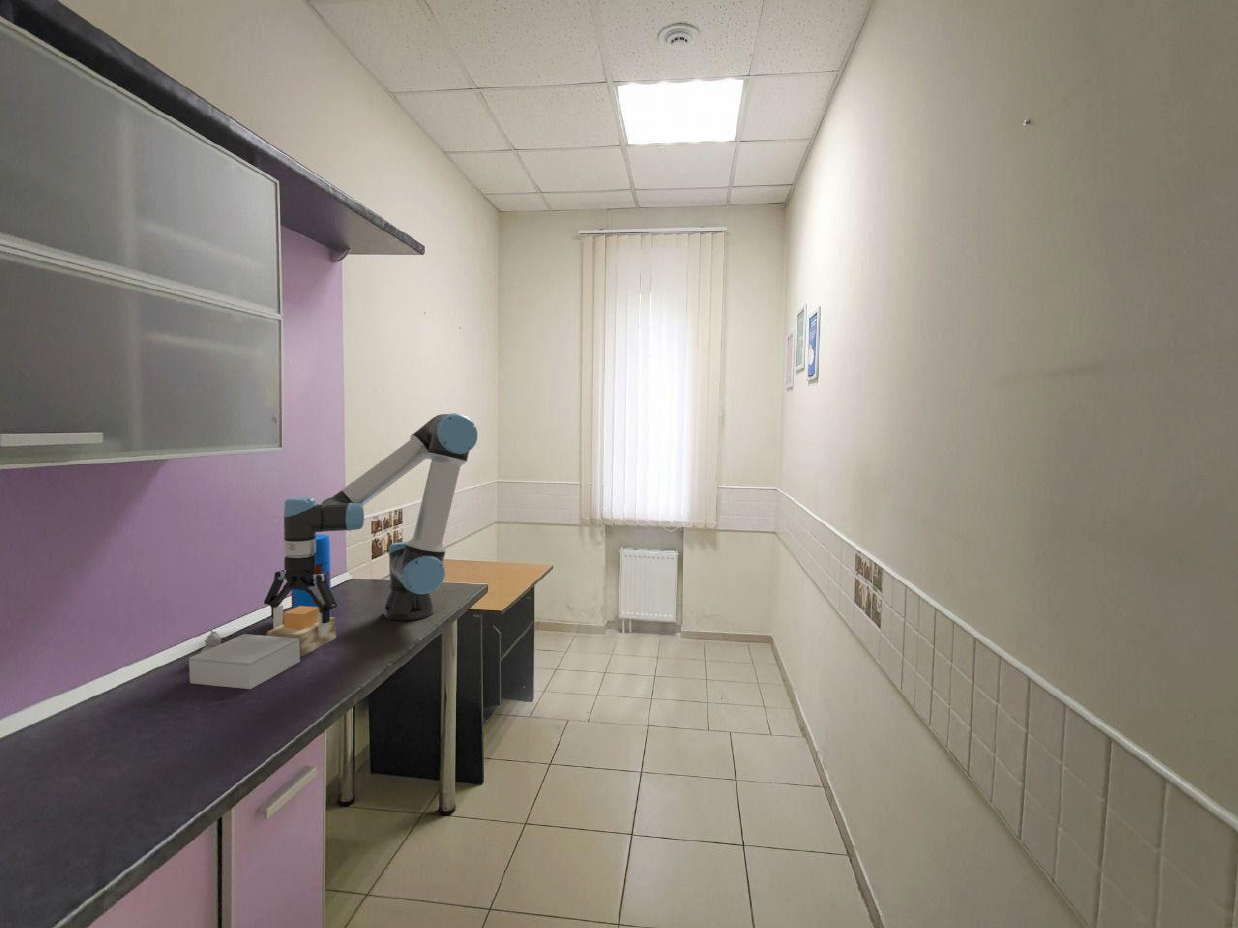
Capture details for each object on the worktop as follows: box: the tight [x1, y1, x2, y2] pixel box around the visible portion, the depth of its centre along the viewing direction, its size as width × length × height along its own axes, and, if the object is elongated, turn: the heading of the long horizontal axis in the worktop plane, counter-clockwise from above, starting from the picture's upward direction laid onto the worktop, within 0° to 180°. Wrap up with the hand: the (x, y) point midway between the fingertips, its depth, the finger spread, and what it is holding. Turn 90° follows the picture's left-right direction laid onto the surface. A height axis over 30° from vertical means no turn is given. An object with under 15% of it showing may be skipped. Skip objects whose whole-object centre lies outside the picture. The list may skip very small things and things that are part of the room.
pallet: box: [266, 616, 337, 658], centre depth 162 cm, size 14×10×6 cm
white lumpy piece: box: [200, 629, 222, 653], centre depth 152 cm, size 5×7×8 cm
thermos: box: [290, 533, 332, 615], centre depth 185 cm, size 11×11×25 cm
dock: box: [188, 633, 301, 690], centre depth 144 cm, size 16×16×6 cm
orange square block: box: [283, 606, 319, 629], centre depth 161 cm, size 6×6×4 cm
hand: (300, 632), depth 161 cm, fingers open, 13 cm apart
